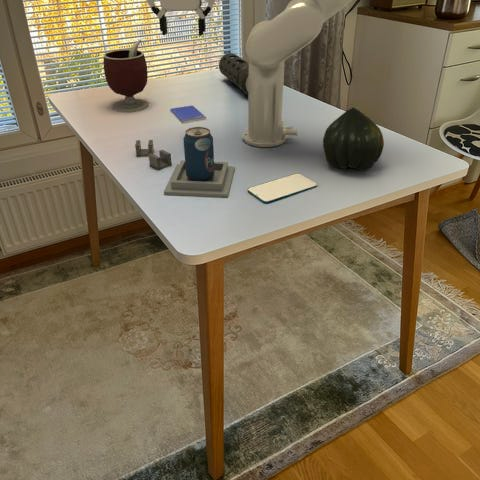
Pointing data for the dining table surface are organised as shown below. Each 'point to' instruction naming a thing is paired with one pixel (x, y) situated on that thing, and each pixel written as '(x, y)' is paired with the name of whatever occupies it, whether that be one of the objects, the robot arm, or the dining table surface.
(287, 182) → the smartphone
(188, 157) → the soda can
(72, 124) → the dining table surface
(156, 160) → the clip
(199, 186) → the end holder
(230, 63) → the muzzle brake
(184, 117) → the hard drive
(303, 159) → the dining table surface
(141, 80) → the mate gourd
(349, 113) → the squash
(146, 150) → the clip
